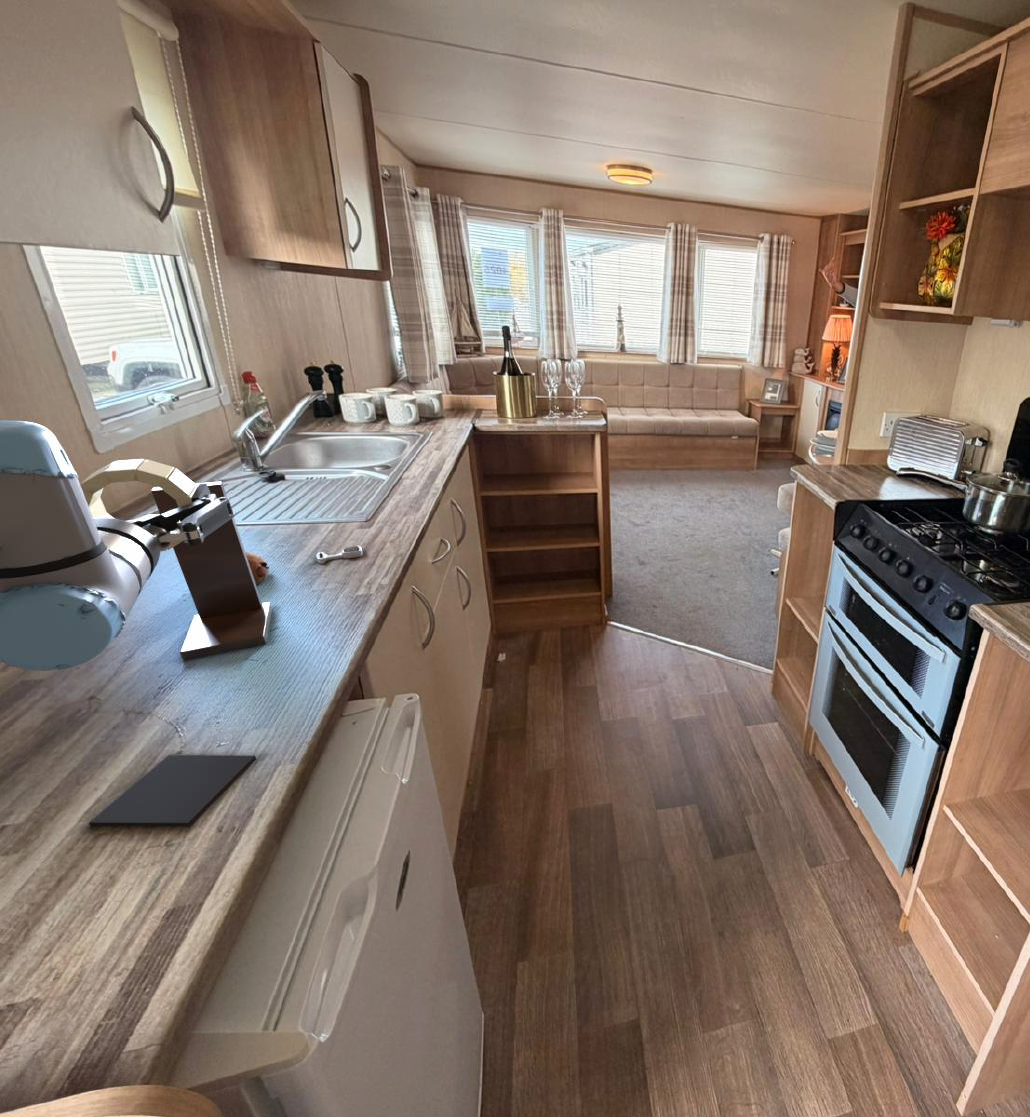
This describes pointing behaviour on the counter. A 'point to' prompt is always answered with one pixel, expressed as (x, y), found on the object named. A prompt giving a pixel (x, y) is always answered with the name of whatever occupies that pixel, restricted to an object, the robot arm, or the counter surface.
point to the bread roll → (257, 567)
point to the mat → (174, 791)
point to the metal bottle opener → (340, 554)
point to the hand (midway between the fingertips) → (149, 498)
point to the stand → (219, 588)
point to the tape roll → (141, 472)
